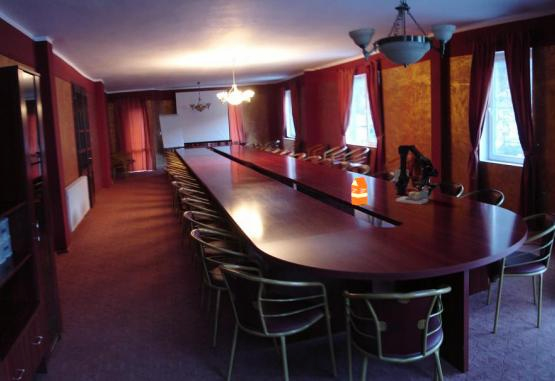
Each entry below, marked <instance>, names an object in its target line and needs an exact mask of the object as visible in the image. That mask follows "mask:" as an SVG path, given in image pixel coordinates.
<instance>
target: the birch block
mask: <svg viewBox="0 0 555 381" xmlns="http://www.w3.org/2000/svg"><path fill="white" fill-rule="evenodd" d="M408 197H409V199H420V192H419V191H410V192H408Z"/></svg>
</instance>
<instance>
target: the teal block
mask: <svg viewBox="0 0 555 381" xmlns="http://www.w3.org/2000/svg"><path fill="white" fill-rule="evenodd" d="M428 193H429V190H425V189H424V190H423V189H422V191H420V197H423V199H428V200H429V199H430V198H431V197H432V196H431V195H430V197H428Z"/></svg>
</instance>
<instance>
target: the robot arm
mask: <svg viewBox="0 0 555 381" xmlns="http://www.w3.org/2000/svg"><path fill="white" fill-rule="evenodd" d="M397 150H398V151H397V152H398V154H399V158H400V160H399V163H400V164H399V166H400V167H399V168H400V169H399V170H400V176H399V177H398V182H397V183H396V184H395V183H394V187H395V186H396V187H397V189H396V193H395V195H396V196H405V195H407V194H408V193H407V191H408V189H406V187H407V186H408V184H410V177H408V176H407V170H408V169H407V167H408V164H407V163H408V155H409V154H410V153H411V154H412V155H413V156H414V157H415V158H416V160H418V164H419V165H420V168H419V170H420V171H421V174H420V175H421V177H420V179H419V181H414V182H413V183H411V185H412V187H415V188H416V189H417V190H418V192H420V191H423V188H424V187H427V189H428V190H427V191H429V193H428V197H430V195H431V194H432V192H433V190H435V189H438V188H439V184H438V183H435V182H434V183H431V182H430V180H431V178H438V176H439V173H440V172H439V170H437V169H438V168H436V167H434V165H433V163H432V160H431V159H430V158H428V157H426V156H425V155H424V154H423V153H421V152H420V150H419V149H418V148H417V147H416V146H415V145H414V144H403V145H402V144H399V145H398V147H397Z"/></svg>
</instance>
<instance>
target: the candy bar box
mask: <svg viewBox="0 0 555 381" xmlns="http://www.w3.org/2000/svg"><path fill="white" fill-rule="evenodd" d="M399 176H400V169H394V177H393V178H394V189H395V190H397V187H396V186H395V184H396V183H397V182H398V177H399ZM407 176H408V177H409V176H410V175H409V169H407ZM409 178H410V177H409ZM409 184H410V183H409ZM409 184H408V186H407V187H406V189H407V190H409V188H410V186H409Z"/></svg>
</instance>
